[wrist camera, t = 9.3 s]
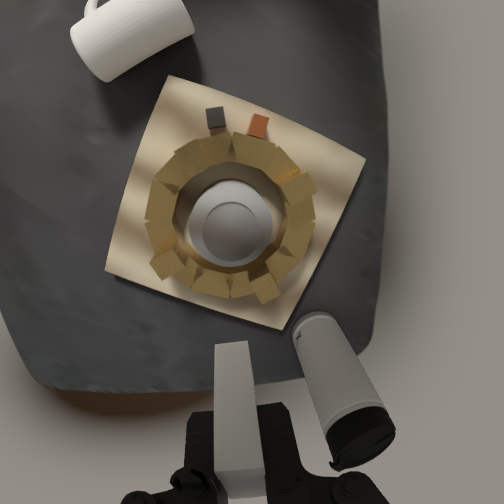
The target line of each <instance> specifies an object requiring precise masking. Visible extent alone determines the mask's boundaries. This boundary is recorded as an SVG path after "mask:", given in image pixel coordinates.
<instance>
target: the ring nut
mask: <svg viewBox="0 0 504 504" xmlns="http://www.w3.org/2000/svg"><path fill="white" fill-rule="evenodd" d="M268 121H269V117H266V116H262V115H259V114H256V113H254V114H253V115H252V117H251V120H250V123H249V126H248V129H247V133H246V135H245V134H241V133H238V132H233V135H232V138H231V134H230V131H229V132H225V133H221V134H217V135H214V136H210V137H206V138H202V139H199V140H198V139H194V140H192V141H191V142H188V143H187V144H185V145H183V146H182V147H180V148H178V149H177V150H175V151H174V153H175V154H174V155H173V157H172V158H171V159H170V160H169V161H168V162H167V163H166V164H165V165H164V166H163V167H162V168H161V169H160V170H159V171H158V172H157V174H156V175H155V177H156V178H155V179H153V180H152V184H151V188H150V193H149V198H148V202H147V207H146V212H145V217H144V219H145V220H147V221H146V222H145V223H144V224H145V227H146V230H147V233H148V236H149V239H150V241H151V244H152V247H153V250H154V253H155V254H154V256H153V257H152V259H151V261H150V262H149V264H150V265H151V267H152V268H153V270H154V271H155V272H156V274H157V275H158V276H159V278H160V279H161V281H163V280H165V279H166V278H168V277H170V276H171V275H173V276H174V277H175V278H176V279H178V280H179V281H180V282H181V283H182V284H183V285H185V286H186V287H187V288H189V287H190V286H191V285H192V289H191V290H193V291H197V292H201V293H205V294H210V295H214V296H218V297H223V298H227V299H228V298H229V295H230V294H231V297H232V299H233V298H237V297H241V296H245V295H249V294H253V293H256V295H257V297H258V298H259V300H260V302H261V303H262V304H264V303H266V302H268V301H270V300H272V299H274V298H276V297H278V296H280V295H281V292H280V289H279V287H278V284H277V283H278V282H279V281H280V280H282V279H283V278H284V277H285V276H286V275H287V274H288V273H289V272H291V271H292V270H293V269H294V268H295V267H296V266H297V265H298V264H300V261H299V259H302V260H303V257H304V255H305V252H306V249H307V246H308V244H309V241H310V238H311V235H312V232H313V230H314V227H315V224H316V223H315V222H314V221H313V220H316V216H315V211H314V205H313V200H312V195H314V194H316V193H318V191H317V189H316V187H315V185H314V183H313V181H312V179H311V177H310V175H309V173H308V171H305V170H302V169H300V168H299V167H298V166H297V165H296V164H295V163H294V162H293V160H292V159H291V158H290V157H289V156H288V155H287V154H286V153H285V152H284V151H283V150H282V148H281V147H280V146H275V143H272V142H269V141H265V140H262V139H263V137H264V134H265V131H266V128H267V124H268ZM229 161H233V162H237V163H240V164H244V165H247V166H251V167H254V168H258V169H260V170H261V171H262V172H263V173H264V174H265V175H266V176H267V177H268V178H269V179H270V180H271V181H272V182H273V183H274V184H275V186H276V187H277V188H278V191H279V196H280V200H281V205H282V210H283V214H284V215H283V218H282V221H281V224H280V227H279V230H278V233H277V236H276V239H275V241H273V242H272V243H271V244H270V245H269V246H268V247H267V248H266V249H265V250H264V251H263V253H262V254H261V255H260V256H258V257H257V258H256V259H255V260H253V261H251V262H249V263H247V264H244V265H241V266H235V267H225V266H220V265H216V264H214V263H212V262H210V261H208V260H206V259H205V258H203V257H202V256H201V255H200V254H199V253H197V252H196V251H195V250H194V249H193V248H192V247H191V246H190V245H189V244H188V243H187V242H186V241H184V238H183V235H182V232H181V229H180V226H179V223H178V219H177V216H176V212H177V208H178V204H179V200H180V196H181V191H182V188H183V186H184V185H185V184H186V183H187V182H188V181H189V180H190V179H191V178H192V177H193V176H195V175H197V174H199V173H200V172H202V171H204V170H206V169H208V168H209V167H211V166H214V165H218V164H221V163H225V162H229Z"/></svg>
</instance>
